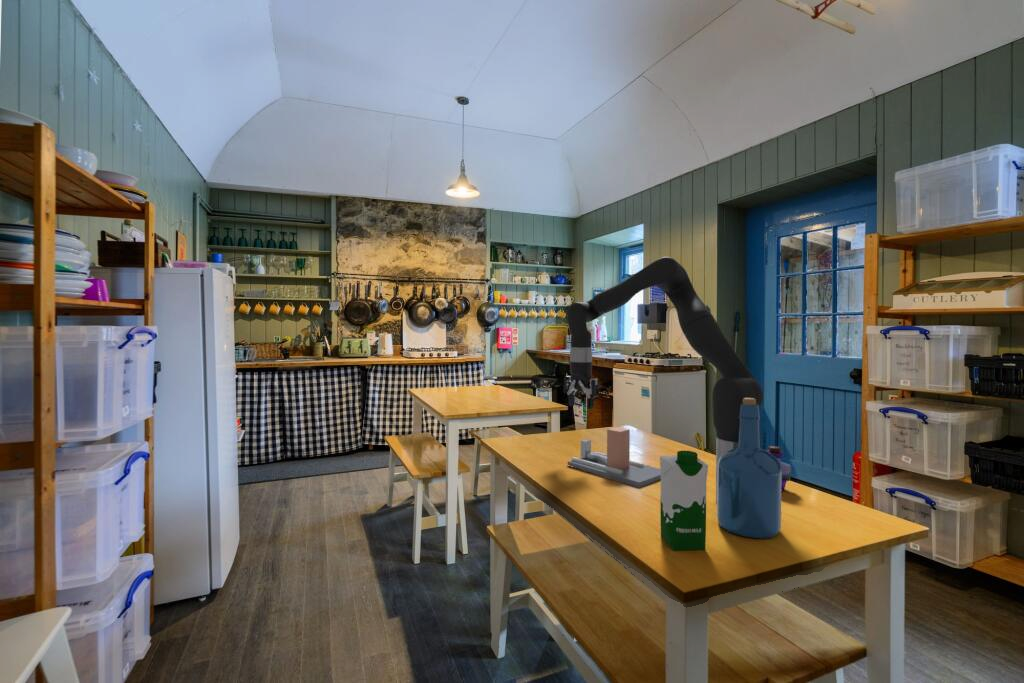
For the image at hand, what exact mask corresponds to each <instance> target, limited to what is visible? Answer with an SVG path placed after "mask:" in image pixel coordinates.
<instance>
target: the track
mask: <svg viewBox="0 0 1024 683" xmlns="http://www.w3.org/2000/svg"><path fill="white" fill-rule="evenodd" d="M592 453H596V454H600V455H604V456H607V453H604V452H598V451H593V452H592ZM568 465H570V466H573V467H576V468H579V469H582V470H585V471H584V472H586V471H588V472H587V473H589V472H591V473H590V474H592V473H594V474H593V475H596V474H597V476H599V475H600V476H599V477H602V476H603V477H602V478H606V479H609V478H610V479H609V480H612V479H613V480H612V481H616V482H619V483H622V482H623V483H622V484H626V485H629V486H632V485H633V486H632V487H636V488H642V487H644V486H647V485H650V484H653V483H655V482H657V481H661V480H660V479H661V469H660V468H658V467H655V466H651V465H647V464H644V463H643V462H639V461H635V460H630V459H629V467H627V468H624V469H621V470H619V469H615V468H612V467H608V466H607V465H605V463H602V462H598V461H595V460H591V459H587V458H582V457H575V456H573V457H571V460H569V461H567V466H568ZM576 468H575V469H576ZM579 469H578V470H579ZM582 470H581V471H582Z"/></svg>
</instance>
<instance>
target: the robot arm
mask: <svg viewBox="0 0 1024 683" xmlns="http://www.w3.org/2000/svg"><path fill="white" fill-rule="evenodd" d="M654 286H656V287H657V288H659V289H660V290H661V291H662V292H663V293H664V294H665V295H666V297H667V298H669V301H670V302H671V303H672V305H673V306H674V308H675V311H676V315H677V319H678V322H679V323H678V324H679V327H680V328H681V329H680V330H681V331H682V333H683V335H684V337H685V338H686V340H687V342H688V343H689V346H690V347H691V348H692V349H693V351H695V352H696V353H697V355H699V356H701V357H702V358H703V359H704V360H706V361H707V362H708V363H709V364H711V366H713V367H714V368H715V369H716V370H717V371H718V372H719V374H720V375H721V377H722V378H720V379H718V380H717V381H716V382H715V383H714V386H713V389H712V397H711V398H712V420H713V426H714V429H715V433H716V437H715V438H716V441H715V442H716V448H715V449H716V450H715V452H716V453H715V454H716V455H715V458H716V459H715V503H716V504H717V473H718V460H719V458H720V457H721V455H723V454H724V453H726V452H727V451H730V450H732V449H735V448H736V447H737V446H738V442H739V423H740V418H739V412H740V405H741V404H742V403H743V399H744V398H754V399H756V404H757V405H758V406H759V409H760V408H761V406H762V405H763V402H764V391H763V389H762V388H763V387H762V386H761V385H760V382H759V381H758V380H757V378H756V377H755V376H754V375H753V373H752V372H751V371H750V370H749V368H748V367H747V366H746V364H744V362H743V361H742V359H741V358H740V356H739V355H738V354H737V352H736V350H735V349H734V348H733V346H732V345H731V344H732V343H730V342H729V339H728V338H727V337H726V335H725V334H724V332H723V330H722V328H721V327H720V325H719V323H718V321H717V320H716V319H715V317H714V315H713V314H712V313H711V311H710V310H709V308H708V306H707V305H706V304H705V303H704V302H703V301H702V300H701V297H699V296H698V294H697V292H696V291H695V288H694V286H693V284H692V281H691V279H690V277H689V274H688V272H687V271H686V269H685V268H684V267H683V265H682V264H680V263H679V262H678V261H677V260H676V259H675V258H674V257H671V256H663V257H662V256H661V257H659V258H658V259H655V260H654V261H652V262H650V263H649V264H647V265H646V266H645V267H644V268H642V269H640V270H639V271H638V272H636V273H634V274H633V275H631V276H629V277H628V278H626V279H625V280H622V281H621V282H620V283H618V284H616V285H614V286H611V287H609V288H607V289H605V290H603V291H601V292H598V293H597V294H595V295H594V296H593V298H592V299H590V300H588V301H584V302H582V301H576V302H575V301H574V302H572V303H571V304H570V305H569V306H568V309H567V313H566V315H567V316H566V317H567V322H568V329H569V332H570V351H569V373H570V375H564V377H563V393H564V394H567V400H568V406H569V407H574V406H575V404H576V403H575V400H576V399H575V398H576V397H575V396H576V395H575V393H576V392H577V391H582V392H583V393H584V394H585V395H586V397H587V398H586V400H587V401H586V402H587V403H586V408H587V410H593V409H594V407H595V398H597V397H599V396H600V384H599V383H600V382H599V378H592V376H591V375H592V373H593V351H592V332H591V331H590V330H588V328H587V327H588V326H587V323H590V322H592V321H594V320H597V319H598V318H599V317H601V316H603V315H604V314H607V313H610V312H612V311H614V310H616V309H618V308H620V307H621V308H622V307H623V306H624V305H626V304H627V303H628V302H630V300H632V298H633V297H635V295H636V294H638V293H639V292H641V291H643V290H645V289H648V288H652V287H654Z"/></svg>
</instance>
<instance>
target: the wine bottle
mask: <svg viewBox="0 0 1024 683" xmlns="http://www.w3.org/2000/svg"><path fill="white" fill-rule="evenodd" d="M739 418H740V423H739V442H738V446H737V447H736V448H735V449H732V450H730V451H727V452H726V453H724V454H723V455H721V457H720V458H719V460H718V473H717V503H716V518H717V521H718V524H719V527H721V528H722V529H724V530H726V531H728V532H730V533H732V534H735V535H738V536H742V537H745V538H752V539H753V538H754V539H769V538H774V537H775V536H777V535H778V534H779V533H780V531H781V530H782V492H781V487H782V470H781V464H780V462H781V461H780V462H779V461H778V459H777V458H776V457H775V456H773V455H772V454H771V453H769V452H768V451H766V450H767V449H763V448H761V446H760V444H761V441H760V420H761V418H760V408H759V406H758V405H757V404H756V399H754V398H744V399H743V403H742V404H741V405H740V412H739Z"/></svg>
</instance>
